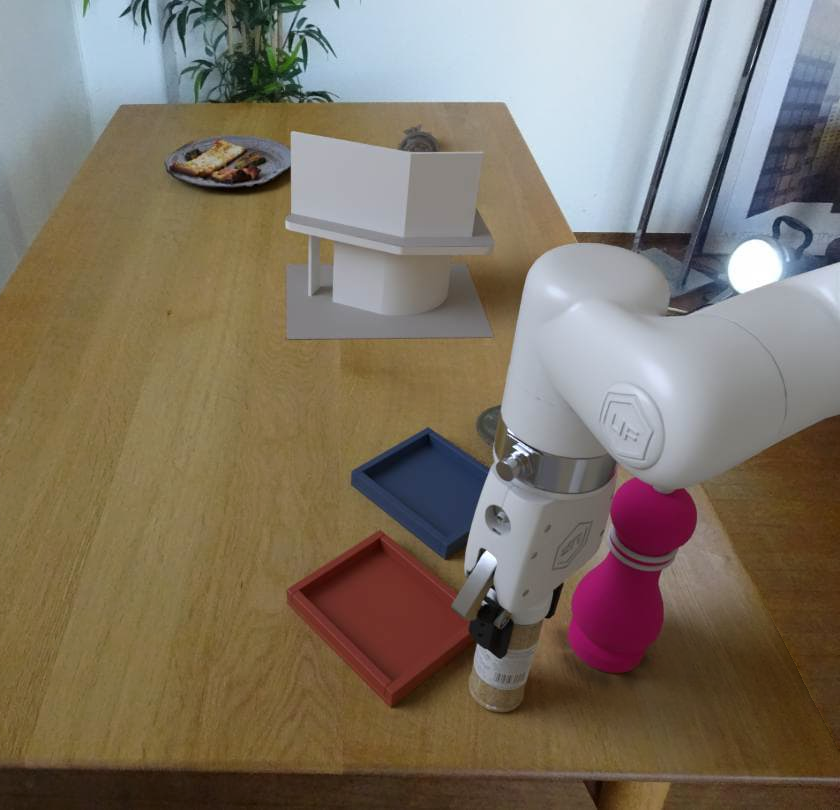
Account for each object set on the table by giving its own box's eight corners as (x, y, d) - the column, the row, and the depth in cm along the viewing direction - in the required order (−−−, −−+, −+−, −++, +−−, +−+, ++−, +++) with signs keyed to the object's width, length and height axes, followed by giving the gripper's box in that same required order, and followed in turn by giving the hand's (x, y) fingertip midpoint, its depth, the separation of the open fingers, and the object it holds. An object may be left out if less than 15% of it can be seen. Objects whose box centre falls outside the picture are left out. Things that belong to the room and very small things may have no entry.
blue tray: (522, 506, 83) (525, 492, 82) (445, 560, 78) (447, 546, 76) (426, 440, 92) (428, 426, 90) (350, 484, 86) (351, 470, 85)
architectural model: (466, 263, 125) (487, 110, 111) (494, 337, 109) (523, 168, 94) (286, 264, 125) (284, 111, 111) (286, 339, 108) (284, 170, 94)
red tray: (485, 632, 71) (489, 618, 70) (390, 708, 65) (392, 694, 64) (379, 543, 79) (380, 529, 78) (286, 603, 74) (286, 588, 72)
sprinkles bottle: (524, 672, 68) (555, 565, 59) (521, 721, 64) (554, 614, 56) (469, 660, 69) (492, 553, 60) (463, 707, 65) (487, 601, 57)
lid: (503, 487, 88) (519, 461, 84) (455, 419, 93) (468, 391, 89) (577, 462, 91) (596, 435, 88) (528, 398, 97) (543, 370, 93)
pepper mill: (562, 669, 68) (618, 498, 56) (561, 602, 74) (612, 433, 61) (652, 687, 67) (731, 516, 54) (644, 617, 72) (714, 448, 60)
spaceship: (394, 166, 136) (440, 149, 134) (389, 120, 166) (426, 105, 164) (409, 209, 140) (453, 193, 138) (401, 156, 169) (438, 142, 167)
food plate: (243, 206, 142) (242, 187, 140) (141, 180, 152) (139, 161, 150) (315, 161, 159) (315, 143, 157) (219, 139, 169) (218, 123, 167)
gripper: (517, 541, 44) (473, 725, 55) (687, 417, 52) (619, 599, 63) (417, 468, 48) (396, 652, 59) (588, 365, 57) (541, 543, 68)
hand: (511, 623), depth 61 cm, fingers open, 4 cm apart
